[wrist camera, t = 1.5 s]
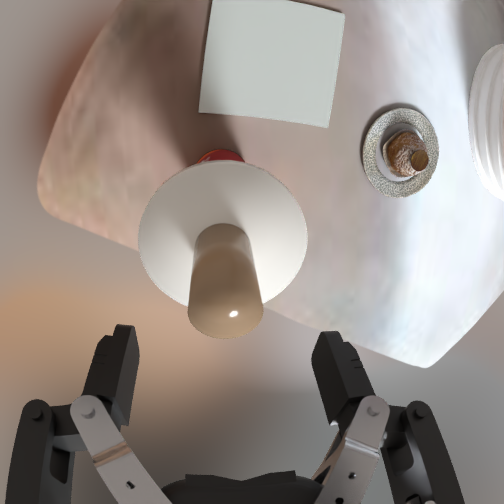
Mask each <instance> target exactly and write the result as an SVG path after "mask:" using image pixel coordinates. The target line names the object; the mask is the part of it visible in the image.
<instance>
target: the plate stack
mask: <svg viewBox="0 0 504 504" xmlns="http://www.w3.org/2000/svg"><path fill="white" fill-rule="evenodd" d="M468 125H469V139H470V146H471V152H472V157H473V161H474V164H475V167H476V170H477V173H478V175H479V177H480V179H481V181H482V183H483V184H484V186H485V187H486V188H487V189H488V190H489V191H490V192H491V193H492V194H494V195H495V196H497V197H498V198H500V199H501V200H503V201H504V44H498V45H495V46H493V47H491V48H490V49H489V50H488V51H487V52H486V53H485V54H484V55H483V57H482V58H481V60H480V62H479V64H478V66H477V69H476V71H475V74H474V78H473V82H472V86H471V91H470V99H469V113H468Z"/></svg>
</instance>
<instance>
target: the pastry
mask: <svg viewBox="0 0 504 504" xmlns="http://www.w3.org/2000/svg"><path fill="white" fill-rule="evenodd" d="M396 123H407V124H410V125H412V126H413V127H415V128H416V129H417V130H418V131H419V133H420V134H421V136H422V138H423V141H424V142H423V141H422V140H421V139H420V138H419V136H418V135H417V134H416V133H415V132H414V131H412V130H408V129H403V130H400V131H399V132H396V133H395V134H394V135H393V136H392V137H391V138H390V139H389V140H388V141H387V142H386V143H385V144H384V146H383V158H384V161H385V163H386V165H387V167H388V168H389V170H390V172H391V173H392V174H393V175H394V176H395V177H400V178H402V177H408V176H413V177H411V178H410V179H408V180H406V181H402V182H396V181H391V180H389V179H387V178H386V177H384V176H383V175H382V173H381V172H380V170H379V169H378V167H377V163H376V158H375V150H376V145H377V142H378V139H379V137H380V136H381V134H382V133H383V132H384V131H385V130H386V129H387V128H388V127H389V126H391V125H393V124H396ZM438 157H439V144H438V139H437V136H436V133H435V131H434V128H433V126H432V125H431V123H430V122H429V121H428V120H427V118H426V117H425V116H424V115H422V114H421V113H419V112H418V111H416V110H413V109H408V108H396V109H392V110H390V111H387V112H385V113H384V114H382V115H381V116H380V117H378V118H377V119H376V120H375V122H374V123H373V124H372V125H371V128H370V129H369V131H368V133H367V135H366V138H365V142H364V145H363V165H364V166H363V167H364V171H365V173H366V175H367V177H368V179H369V181H370V183H371V184H372V185H373V187H375V188H376V189H377V190H378V191H379V192H380V193H382V194H383V195H385V196H388V197H392V198H402V197H408V196H411V195H413V194H415V193H417V192H419V191H420V190H421V189H422V188H424V187H425V185H426V184H427V183H428V182H429V180H430V179H431V177H432V175H433V173H434V171H435V169H436V166H437V161H438Z"/></svg>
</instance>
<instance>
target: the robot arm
mask: <svg viewBox="0 0 504 504" xmlns="http://www.w3.org/2000/svg"><path fill="white" fill-rule="evenodd" d="M139 357H140V355H139V346H138V342H137V336H136V331H135V327H134V326H131V325H120V324H117V325H116V327H115V330H114V333H113V336H108V335H105V336H104V337H103V338H102V339H101V340H100V341H99V343H98V344H97V347H96V350H95V355H94V356H93V360H92V363H91V366H90V369H89V372H88V376H87V379H86V383H85V386H84V390H83V393H82V395H81V396H80V397H78V398H77V399H75V400H74V401H73V403H72V404H69V405H63V406H52V407H50V406H49V405H48V404H47V403H46V402H45V401H43V400H39V399H36V400H31V401H29V402H28V403H27V404H26V405H25V406H24V408H23V410H22V414H21V418H20V422H19V426H18V430H17V434H16V438H15V443H14V448H13V452H12V458H11V463H10V469H9V476H8V484H7V490H6V500H5V504H71V491H72V477H73V467H74V458H75V451H85V450H88V451H89V452H90V454H91V456H92V458H93V463H94V465H95V467H96V469H97V470H98V472H99V474H100V475H101V477H102V479H103V480H104V482H105V484H106V485H107V487H108V488H109V490H110V491H111V493H112V494H113V496H114V497H115V499H116V500H117V501H118V503H119V504H360V503H361V500H362V499H363V497H364V494H365V492H366V490H367V488H368V485H369V483H370V481H371V478H372V476H373V473H374V471H375V468H376V465H377V463H378V460H379V456H380V454H379V453H377V450H378V447H379V448H380V450H381V453H382V457H383V460H384V464H385V468H386V472H387V475H388V479H389V483H390V487H391V491H392V495H393V499H394V503H395V504H465V503H464V499H463V496H462V493H461V489H460V486H459V483H458V480H457V477H456V474H455V471H454V468H453V465H452V463H451V460H450V457H449V454H448V451H447V449H446V446H445V443H444V441H443V438H442V436H441V433H440V430H439V428H438V425H437V423H436V420H435V418H434V416H433V413H432V411H431V409H430V407H429V406H428V405H427V404H425V403H424V402H422V401H413V402H411V403H410V404H409V405H408V406H407V407H399V406H391V405H388V404H387V402H386V401H385V400H384V399H382V398H380V397H378V396H376V395H375V393H374V390H373V388H372V386H371V383H370V381H369V379H368V376H367V374H366V372H365V369H364V368H363V365H362V362H361V361H360V358H359V356H358V353H357V351H356V349H355V348H354V347H353V346H352V345H351V344H350V343H349V342H343V339H342V337H341V335H340V333H339V332H338V331H324V332H321V333H320V335H319V337H318V340H317V343H316V345H315V348H314V351H313V353H312V358H311V361H312V368H313V371H314V374H315V377H316V381H317V384H318V388H319V391H320V395H321V398H322V401H323V404H324V408H325V412H326V415H327V419H328V422H329V425H336V424H338V426H339V431H338V432H337V434H336V436H335V439H334V440H333V442H332V444H331V446H330V448H329V450H328V452H327V454H326V456H325V458H324V460H323V462H322V464H321V465H320V466H319V468H318V469H317V471H316V472H315V473H314V475H313V476H312V478H311V479H308V478H305V477H301V476H296V474H295V471H286V472H276V473H268V474H265V475H261V476H258V477H255V478H251V479H248V480H244V481H239V480H233V479H228V478H223V477H218V476H214V475H189V474H186V476H185V478H186V479H184V480H179V481H175V482H173V483H170V484H168V485H166V486H164V487H163V488H161V489H160V488H159V487H158V486H157V485H156V483H155V482H154V481H153V479H152V478H151V477H150V476H149V474H148V473H147V472H146V470H145V469H144V467H143V466H142V465H141V463H140V462H139V461H138V459H137V458H136V456H135V455H134V453H133V452H132V450H131V449H130V447H129V446H128V445H127V443H126V442H125V440H124V439H123V437H122V436H121V434H120V428H121V425H126V426H128V425H129V418H130V411H131V405H132V399H133V393H134V387H135V381H136V376H137V370H138V365H139Z"/></svg>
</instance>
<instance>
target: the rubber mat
mask: <svg viewBox="0 0 504 504" xmlns="http://www.w3.org/2000/svg"><path fill="white" fill-rule="evenodd" d="M344 21H345V14H342V13H338V12H335V11H331V10H327V9H324V8H320V7H316V6H312V5H307V4H303V3H298V2H293V1H288V0H213V2H212V9H211V15H210V21H209V28H208V35H207V42H206V50H205V58H204V66H203V74H202V83H201V92H200V102H199V113H215V114H228V115H239V116H249V117H259V118H267V119H275V120H282V121H289V122H296V123H302V124H308V125H314V126H319V127H325V128H328V125H329V119H330V114H331V108H332V102H333V96H334V90H335V84H336V78H337V71H338V64H339V58H340V51H341V44H342V36H343V29H344Z"/></svg>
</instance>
